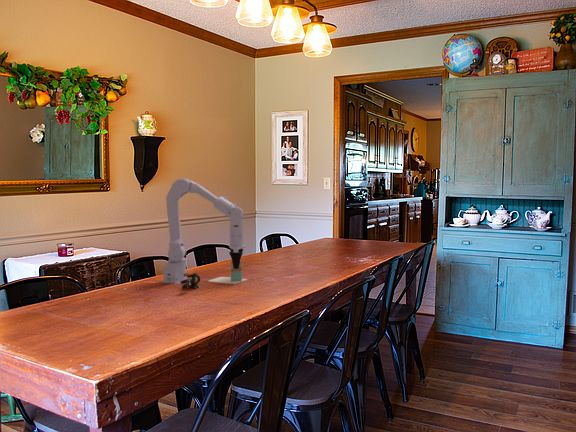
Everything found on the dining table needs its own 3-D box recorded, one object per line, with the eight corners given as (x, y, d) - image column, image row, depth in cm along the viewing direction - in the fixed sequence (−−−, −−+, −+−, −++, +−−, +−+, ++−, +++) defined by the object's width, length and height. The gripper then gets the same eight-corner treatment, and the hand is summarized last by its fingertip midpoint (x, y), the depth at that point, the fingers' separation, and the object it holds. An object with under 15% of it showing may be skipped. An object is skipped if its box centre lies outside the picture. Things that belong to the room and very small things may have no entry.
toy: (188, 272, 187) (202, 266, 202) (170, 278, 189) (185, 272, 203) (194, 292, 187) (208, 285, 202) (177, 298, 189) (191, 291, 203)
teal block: (241, 281, 211) (241, 271, 211) (231, 281, 211) (231, 271, 210) (241, 278, 216) (241, 269, 215) (231, 279, 215) (231, 269, 215)
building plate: (234, 285, 205) (234, 284, 205) (206, 282, 211) (206, 280, 211) (247, 280, 215) (247, 279, 215) (221, 277, 221) (221, 276, 221)
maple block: (241, 271, 211) (241, 262, 211) (230, 271, 210) (230, 262, 210) (241, 269, 215) (241, 260, 215) (231, 269, 215) (231, 260, 215)
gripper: (245, 237, 205) (245, 269, 206) (246, 233, 219) (246, 264, 220) (228, 237, 204) (228, 270, 205) (229, 233, 219) (230, 264, 220)
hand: (236, 267), depth 213 cm, fingers open, 7 cm apart
